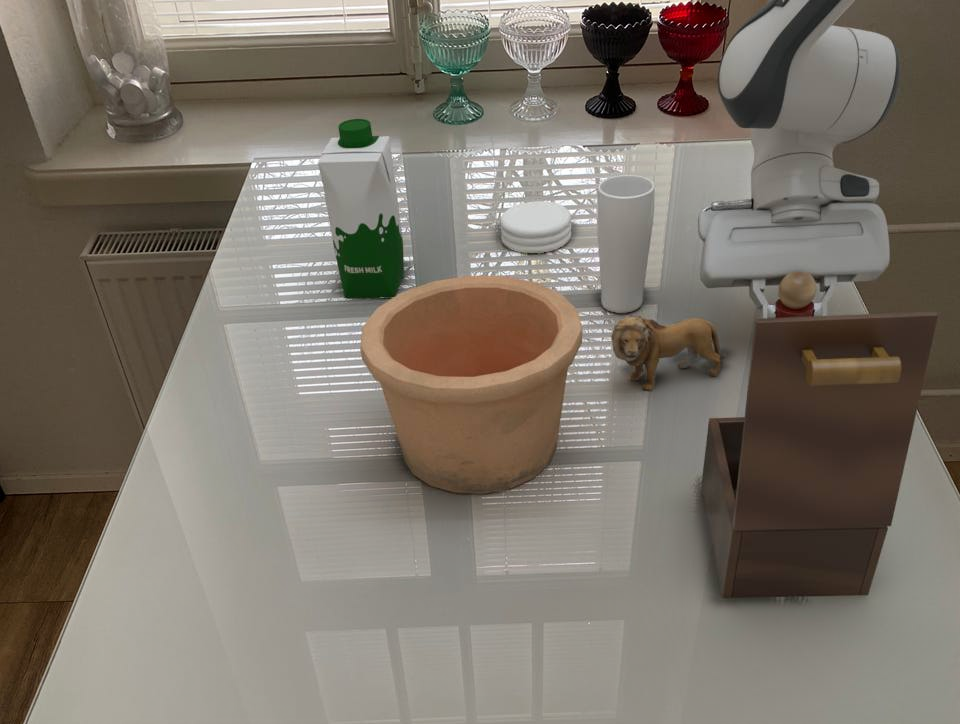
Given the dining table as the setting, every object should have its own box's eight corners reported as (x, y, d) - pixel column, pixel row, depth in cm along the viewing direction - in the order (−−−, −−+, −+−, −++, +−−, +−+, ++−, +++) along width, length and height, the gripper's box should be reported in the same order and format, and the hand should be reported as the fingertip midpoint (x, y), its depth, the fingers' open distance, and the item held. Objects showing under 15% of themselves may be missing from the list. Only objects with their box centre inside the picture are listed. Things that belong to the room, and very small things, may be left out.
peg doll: (799, 351, 117) (816, 262, 109) (806, 371, 114) (823, 280, 106) (763, 353, 117) (777, 264, 109) (769, 372, 114) (783, 282, 106)
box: (700, 491, 100) (709, 417, 94) (828, 488, 99) (845, 413, 93) (721, 607, 89) (732, 532, 82) (865, 604, 88) (888, 528, 81)
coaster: (549, 260, 137) (549, 235, 134) (488, 247, 141) (486, 223, 138) (583, 231, 142) (583, 206, 140) (523, 219, 146) (522, 195, 144)
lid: (755, 318, 72) (767, 345, 68) (935, 311, 71) (958, 337, 67) (732, 525, 82) (742, 559, 78) (888, 521, 81) (906, 555, 77)
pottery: (367, 411, 114) (346, 294, 104) (552, 378, 116) (550, 260, 106) (395, 528, 99) (374, 405, 89) (606, 488, 101) (610, 364, 91)
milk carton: (411, 270, 138) (392, 116, 123) (400, 302, 131) (379, 144, 117) (350, 271, 139) (324, 118, 124) (336, 302, 132) (307, 146, 118)
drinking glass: (643, 320, 124) (650, 199, 113) (590, 315, 126) (591, 196, 115) (652, 294, 128) (659, 175, 117) (600, 290, 130) (603, 172, 119)
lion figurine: (622, 406, 111) (625, 333, 105) (600, 383, 115) (602, 312, 108) (735, 371, 115) (744, 299, 108) (710, 350, 118) (718, 279, 111)
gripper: (701, 190, 108) (703, 317, 109) (894, 180, 107) (895, 309, 107) (693, 213, 115) (695, 334, 115) (875, 204, 113) (876, 326, 113)
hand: (793, 322), depth 111 cm, fingers closed on peg doll, 4 cm apart
